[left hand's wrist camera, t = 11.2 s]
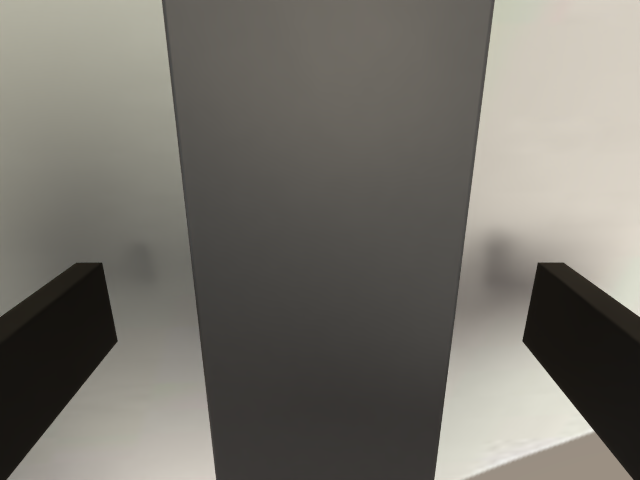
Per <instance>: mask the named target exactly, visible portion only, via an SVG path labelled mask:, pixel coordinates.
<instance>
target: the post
mask: <svg viewBox="0 0 640 480" xmlns="http://www.w3.org/2000/svg"><path fill="white" fill-rule="evenodd" d="M494 1H495V0H162V5H163V14H164V22H165V31H166V40H167V49H168V58H169V67H170V75H171V84H172V93H173V102H174V111H175V120H176V128H177V137H178V146H179V155H180V164H181V173H182V181H183V190H184V199H185V208H186V217H187V226H188V234H189V243H190V252H191V261H192V270H193V279H194V287H195V296H196V305H197V314H198V323H199V332H200V340H201V349H202V358H203V367H204V376H205V385H206V393H207V402H208V411H209V420H210V429H211V438H212V446H213V455H214V464H215V473H216V480H434V477H435V469H436V462H437V454H438V446H439V438H440V430H441V422H442V414H443V406H444V398H445V390H446V382H447V374H448V366H449V358H450V350H451V343H452V335H453V327H454V319H455V311H456V303H457V295H458V287H459V279H460V271H461V263H462V255H463V247H464V239H465V231H466V224H467V216H468V208H469V200H470V192H471V184H472V176H473V168H474V160H475V152H476V144H477V136H478V128H479V120H480V113H481V105H482V97H483V89H484V81H485V73H486V65H487V57H488V49H489V41H490V33H491V25H492V17H493V9H494Z"/></svg>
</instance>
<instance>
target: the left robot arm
mask: <svg viewBox="0 0 640 480" xmlns="http://www.w3.org/2000/svg"><path fill="white" fill-rule="evenodd" d="M116 343H117V336H116V331H115V326H114V321H113V315H112V310H111V305H110V300H109V295H108V290H107V285H106V280H105V275H104V270H103V265H102V263H75V264H74V265H73V266H71V267H70V268H68V269H67V270H66V271H64V272H63V273H61V274H60V275H59V276H57V277H56V278H54V279H53V280H52V281H50V282H49V283H47V284H46V285H45V286H43V287H42V288H40V289H39V290H38V291H36V292H35V293H33V294H32V295H31V296H29V297H28V298H26V299H25V300H24V301H22V302H21V303H19V304H18V305H17V306H15V307H14V308H12V309H11V310H10V311H8V312H7V313H5V314H4V315H3V316H1V317H0V480H7V478H8V477H9V476H10V475H11V473H12V472H13V471H14V470H15V468H16V467H17V466H18V465H19V463H20V462H21V461H22V460H23V458H24V457H25V456H26V455H27V453H28V452H29V451H30V450H31V448H32V447H33V446H34V445H35V443H36V442H37V441H38V440H39V438H40V437H41V436H42V435H43V434H44V432H45V431H46V430H47V429H48V427H49V426H50V425H51V424H52V422H53V421H54V420H55V419H56V417H57V416H58V415H59V414H60V412H61V411H62V410H63V409H64V407H65V406H66V405H67V404H68V402H69V401H70V400H71V399H72V397H73V396H74V395H75V394H76V392H77V391H78V390H79V389H80V387H81V386H82V385H83V384H84V382H85V381H86V380H87V379H88V377H89V376H90V375H91V374H92V372H93V371H94V370H95V369H96V367H97V366H98V365H99V364H100V362H101V361H102V360H103V359H104V357H105V356H106V355H107V354H108V352H109V351H110V350H111V349H112V347H113V346H114V345H115V344H116ZM523 343H524V344H525V345H526V346H527V347H528V349H529V350H530V351H531V352H532V354H533V355H534V356H535V357H536V359H537V360H538V361H539V362H540V364H541V365H542V366H543V367H544V369H545V370H546V371H547V372H548V374H549V375H550V376H551V377H552V379H553V380H554V381H555V382H556V384H557V385H558V386H559V387H560V389H561V390H562V391H563V392H564V394H565V395H566V396H567V397H568V399H569V400H570V401H571V402H572V404H573V405H574V406H575V407H576V409H577V410H578V411H579V412H580V414H581V415H582V416H583V417H584V419H585V420H586V421H587V422H588V424H589V425H590V426H591V427H592V429H593V430H594V431H595V432H596V434H597V435H598V436H599V437H600V438H601V440H602V441H603V442H604V443H605V445H606V446H607V447H608V448H609V450H610V451H611V452H612V453H613V455H614V456H615V457H616V458H617V460H618V461H619V462H620V463H621V465H622V466H623V467H624V468H625V470H626V471H627V472H628V473H629V475H630V476H631V477H632V478H633V480H640V317H639V316H637V315H636V314H635V313H633V312H632V311H630V310H629V309H628V308H626V307H625V306H623V305H622V304H621V303H619V302H618V301H616V300H615V299H614V298H612V297H611V296H609V295H608V294H607V293H605V292H604V291H602V290H601V289H600V288H598V287H597V286H595V285H594V284H593V283H591V282H590V281H588V280H587V279H586V278H584V277H583V276H581V275H580V274H579V273H577V272H576V271H574V270H573V269H572V268H570V267H569V266H567V265H566V264H565V263H538V265H537V270H536V275H535V280H534V285H533V290H532V295H531V300H530V305H529V310H528V315H527V321H526V326H525V331H524V336H523Z"/></svg>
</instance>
